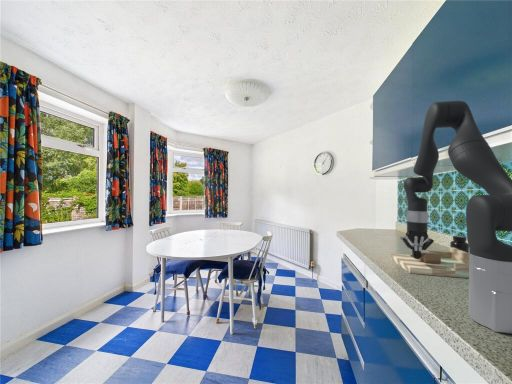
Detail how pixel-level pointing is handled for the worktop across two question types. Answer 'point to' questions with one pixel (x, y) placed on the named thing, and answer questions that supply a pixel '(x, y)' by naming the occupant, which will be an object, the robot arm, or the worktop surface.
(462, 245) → the supplement bottle
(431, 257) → the walnut block
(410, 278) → the worktop surface
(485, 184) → the robot arm
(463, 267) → the box
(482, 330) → the worktop surface
